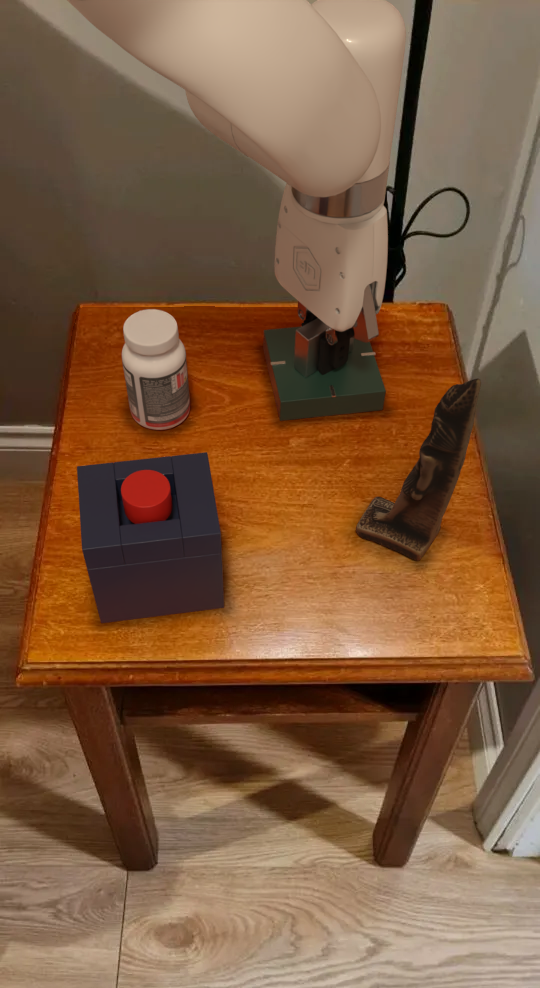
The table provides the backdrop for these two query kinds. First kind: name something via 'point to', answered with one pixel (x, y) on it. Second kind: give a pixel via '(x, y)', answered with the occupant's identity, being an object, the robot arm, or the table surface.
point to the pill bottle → (155, 370)
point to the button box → (151, 541)
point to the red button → (146, 497)
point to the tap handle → (310, 346)
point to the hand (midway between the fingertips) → (323, 358)
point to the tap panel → (321, 381)
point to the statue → (426, 479)
